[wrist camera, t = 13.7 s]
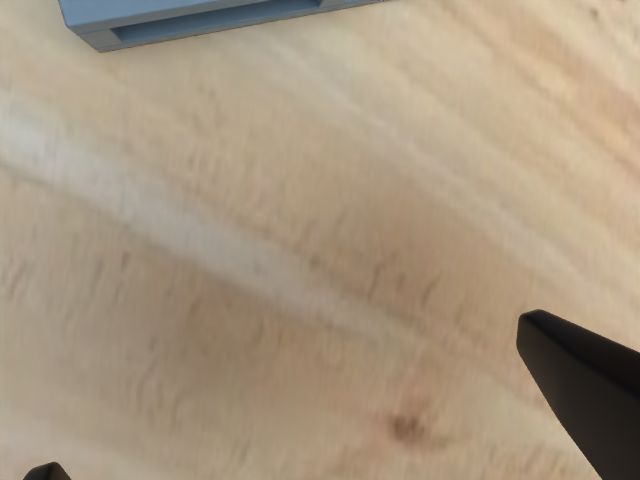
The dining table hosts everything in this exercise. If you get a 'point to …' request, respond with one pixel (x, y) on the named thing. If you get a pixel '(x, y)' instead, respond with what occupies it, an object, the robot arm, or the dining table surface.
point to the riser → (178, 17)
